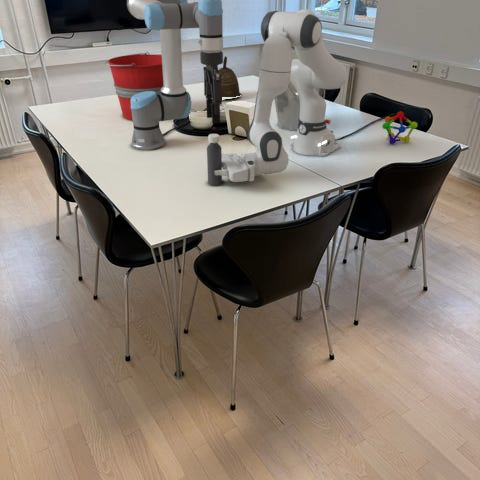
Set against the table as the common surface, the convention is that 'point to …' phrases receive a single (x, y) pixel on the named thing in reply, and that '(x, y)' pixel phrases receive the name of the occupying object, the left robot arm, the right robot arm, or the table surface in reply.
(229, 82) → the bell
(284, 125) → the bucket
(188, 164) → the table surface
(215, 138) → the cap
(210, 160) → the bottle
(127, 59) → the bucket
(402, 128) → the educational toy
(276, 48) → the right robot arm
